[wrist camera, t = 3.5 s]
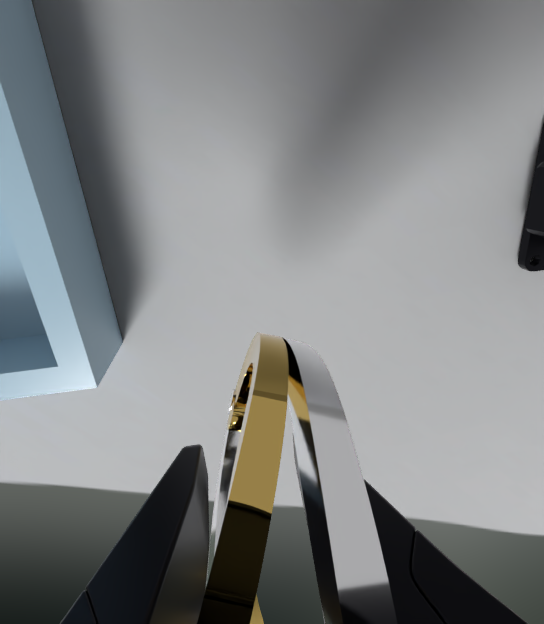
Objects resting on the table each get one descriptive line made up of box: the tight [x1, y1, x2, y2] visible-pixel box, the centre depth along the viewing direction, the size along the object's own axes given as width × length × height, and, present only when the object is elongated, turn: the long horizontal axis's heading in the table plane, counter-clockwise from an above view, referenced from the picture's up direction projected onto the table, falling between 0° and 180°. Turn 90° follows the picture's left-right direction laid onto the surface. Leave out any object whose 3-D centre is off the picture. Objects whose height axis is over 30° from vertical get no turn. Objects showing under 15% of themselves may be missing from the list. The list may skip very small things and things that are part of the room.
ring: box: [197, 332, 397, 624], centre depth 7 cm, size 7×3×8 cm, turn 165°
